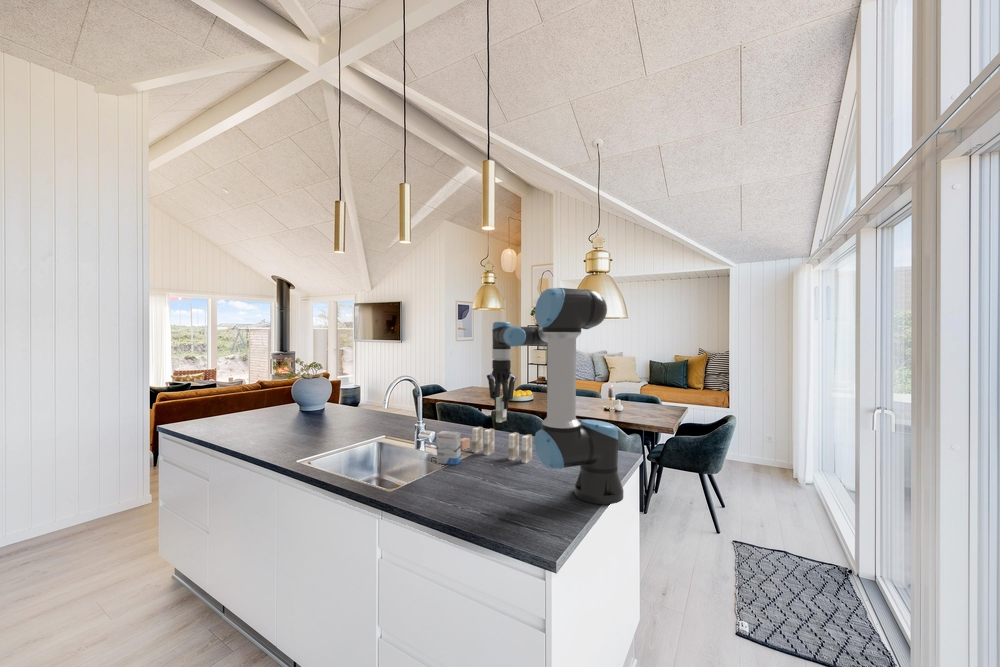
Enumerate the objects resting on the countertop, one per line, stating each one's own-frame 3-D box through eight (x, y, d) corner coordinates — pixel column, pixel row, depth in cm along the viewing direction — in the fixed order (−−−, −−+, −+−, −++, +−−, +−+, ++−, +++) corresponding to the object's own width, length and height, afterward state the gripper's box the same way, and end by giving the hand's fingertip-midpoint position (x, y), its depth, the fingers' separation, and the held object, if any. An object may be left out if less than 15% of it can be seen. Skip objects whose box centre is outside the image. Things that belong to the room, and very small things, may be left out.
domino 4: (512, 460, 165) (512, 435, 164) (508, 459, 166) (508, 434, 165) (518, 457, 169) (519, 432, 169) (514, 456, 170) (514, 432, 170)
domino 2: (487, 455, 171) (487, 431, 171) (483, 454, 172) (483, 430, 172) (494, 452, 175) (494, 429, 175) (490, 451, 176) (490, 428, 176)
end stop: (462, 450, 178) (462, 441, 178) (456, 449, 179) (456, 440, 179) (469, 447, 182) (469, 438, 182) (464, 446, 184) (464, 437, 184)
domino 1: (475, 453, 174) (476, 429, 174) (472, 452, 175) (472, 428, 175) (482, 450, 178) (482, 427, 178) (478, 449, 179) (478, 426, 179)
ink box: (461, 461, 163) (461, 431, 163) (456, 465, 158) (456, 435, 158) (441, 459, 166) (441, 430, 166) (435, 463, 161) (435, 433, 161)
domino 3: (500, 422, 168) (500, 398, 167) (495, 422, 169) (496, 397, 168) (506, 420, 172) (506, 396, 172) (502, 419, 173) (502, 395, 173)
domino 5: (526, 463, 161) (526, 437, 161) (521, 462, 162) (521, 437, 162) (532, 459, 166) (532, 435, 165) (527, 459, 167) (527, 434, 166)
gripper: (522, 359, 169) (521, 417, 169) (491, 358, 177) (491, 412, 177) (512, 360, 163) (512, 420, 163) (481, 359, 171) (481, 415, 171)
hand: (501, 416), depth 170 cm, fingers closed on domino 3, 2 cm apart
